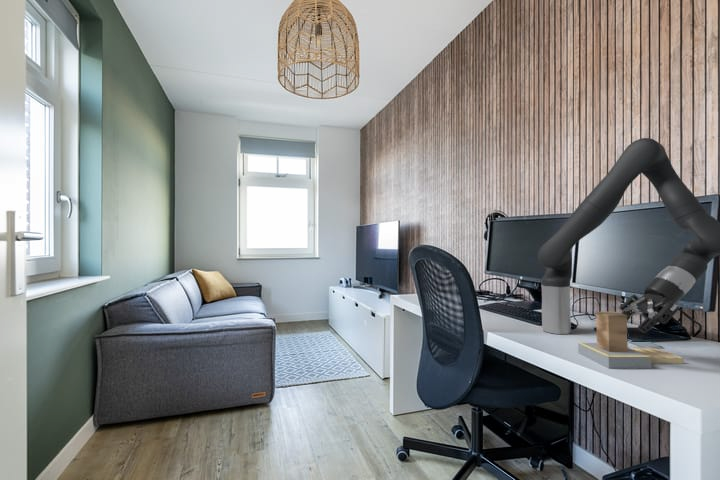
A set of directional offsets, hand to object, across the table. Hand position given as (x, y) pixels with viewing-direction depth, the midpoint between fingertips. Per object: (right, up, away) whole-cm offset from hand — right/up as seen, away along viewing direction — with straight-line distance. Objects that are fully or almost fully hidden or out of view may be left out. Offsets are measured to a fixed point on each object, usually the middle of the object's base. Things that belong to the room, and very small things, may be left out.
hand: (629, 327), depth 96 cm
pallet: (+7, -9, +2) cm, 12 cm away
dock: (-5, -9, 0) cm, 10 cm away
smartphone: (+16, -10, +18) cm, 26 cm away
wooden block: (-5, -6, 0) cm, 8 cm away
